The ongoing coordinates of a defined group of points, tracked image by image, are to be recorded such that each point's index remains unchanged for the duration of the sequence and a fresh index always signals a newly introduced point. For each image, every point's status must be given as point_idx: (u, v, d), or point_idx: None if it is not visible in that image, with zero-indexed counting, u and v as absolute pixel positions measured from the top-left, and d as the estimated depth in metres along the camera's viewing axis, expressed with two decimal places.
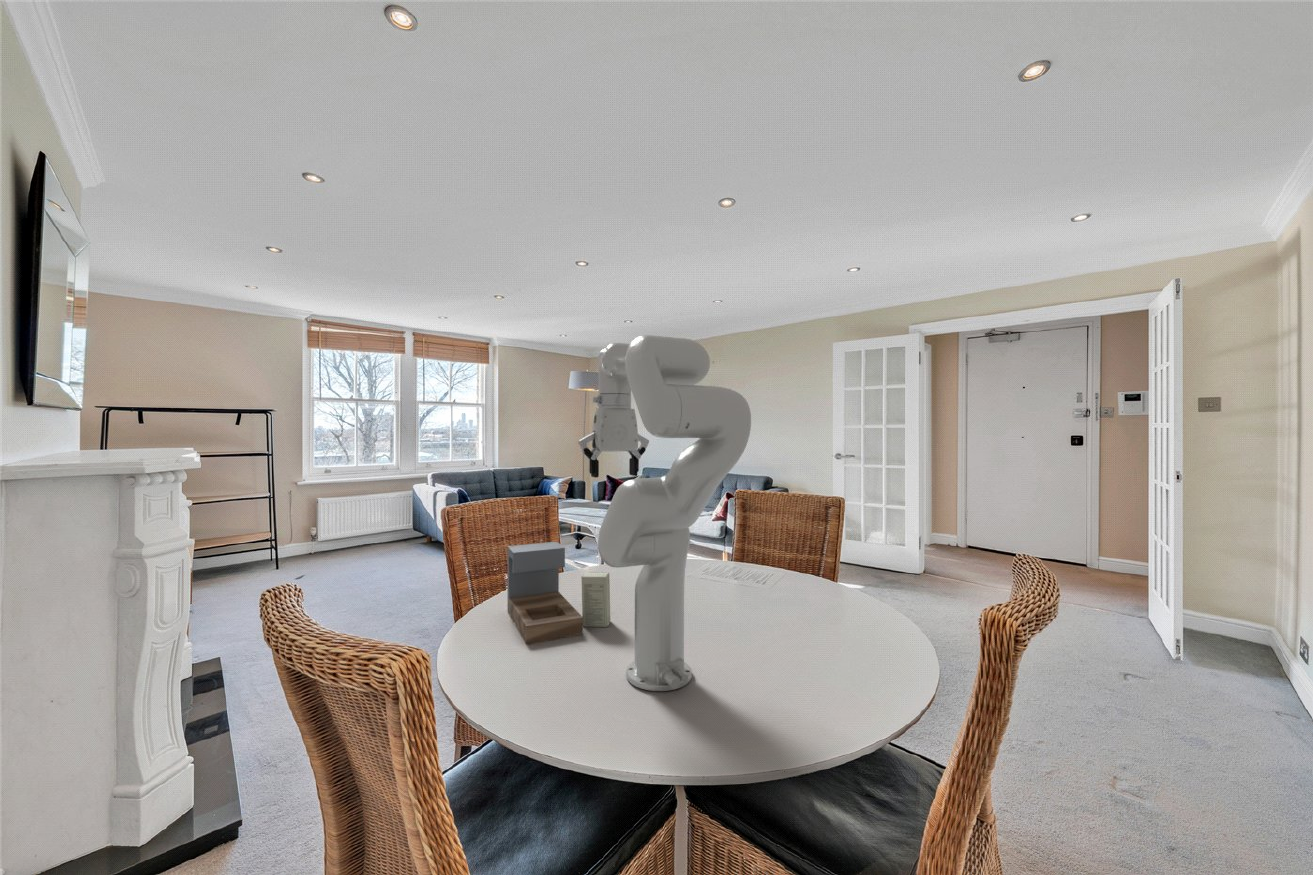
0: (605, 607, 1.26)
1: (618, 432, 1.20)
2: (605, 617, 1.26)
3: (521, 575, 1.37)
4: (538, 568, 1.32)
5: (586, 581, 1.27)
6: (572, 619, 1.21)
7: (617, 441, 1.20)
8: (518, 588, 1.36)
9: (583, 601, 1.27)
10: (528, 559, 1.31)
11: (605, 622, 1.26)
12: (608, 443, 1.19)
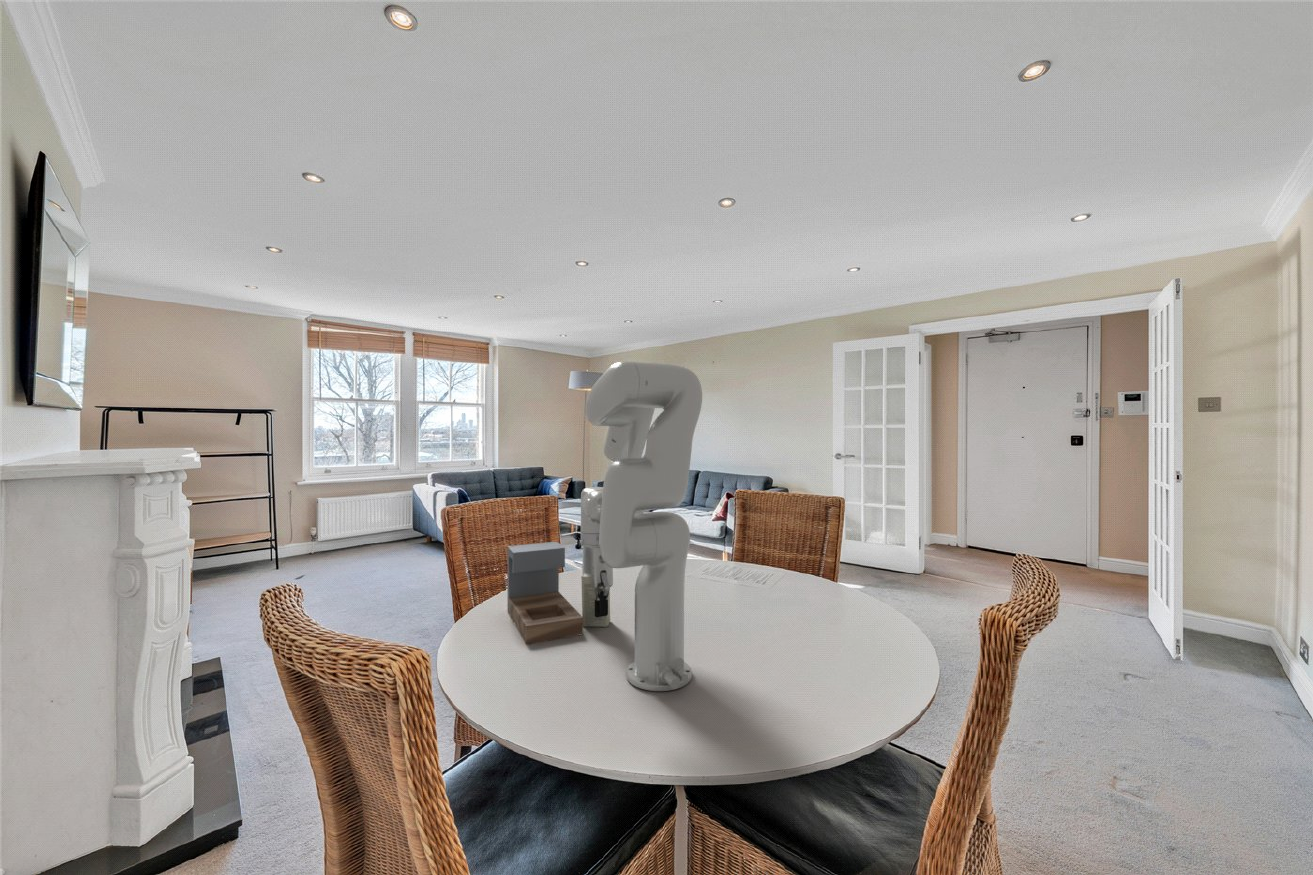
0: None
1: None
2: (605, 617, 1.26)
3: (521, 575, 1.37)
4: (538, 568, 1.32)
5: (586, 581, 1.27)
6: (572, 619, 1.21)
7: None
8: (518, 588, 1.36)
9: (583, 601, 1.27)
10: (528, 559, 1.31)
11: (605, 622, 1.26)
12: None
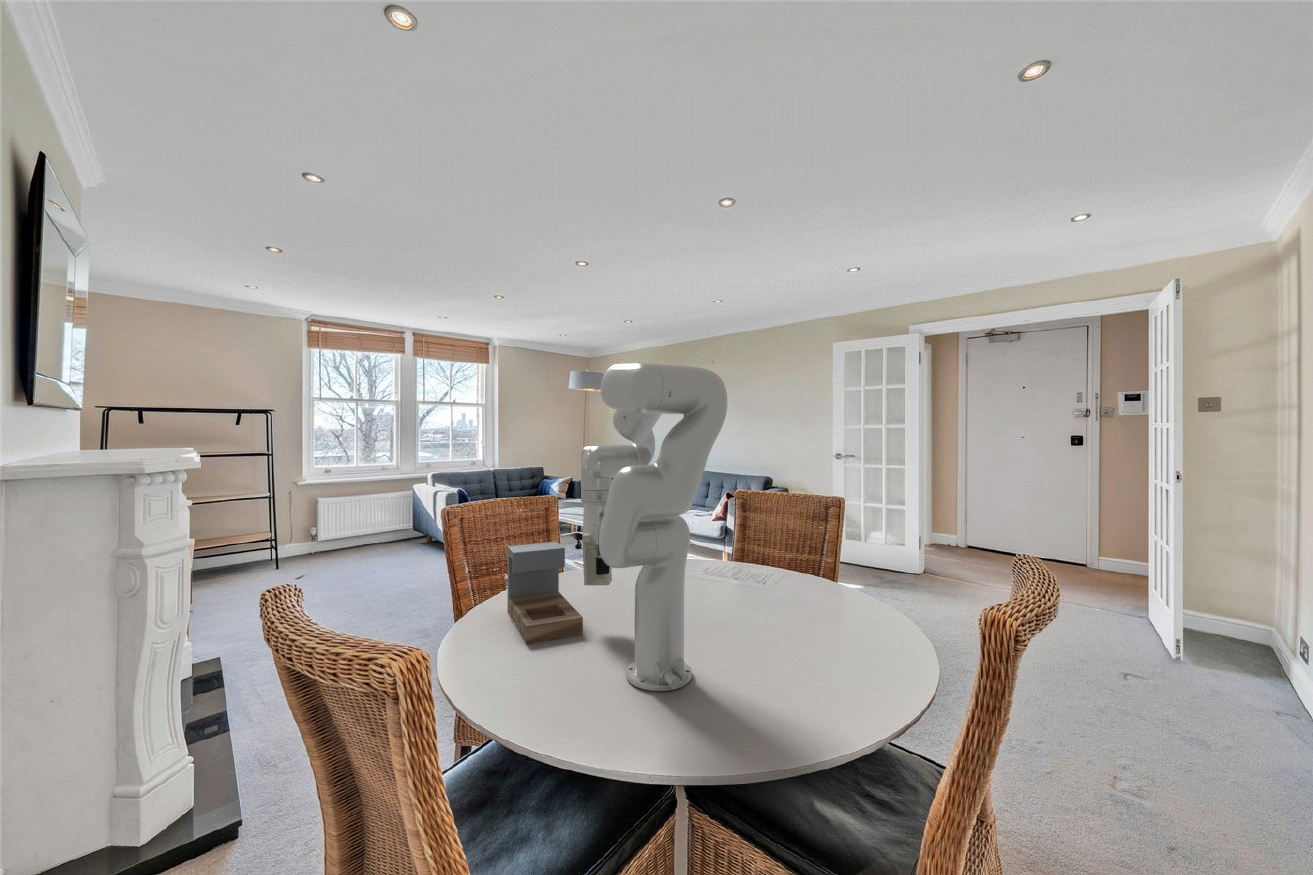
0: None
1: None
2: (606, 575, 1.26)
3: (521, 575, 1.37)
4: (538, 568, 1.32)
5: (586, 540, 1.26)
6: (572, 619, 1.21)
7: None
8: (518, 588, 1.36)
9: (584, 560, 1.26)
10: (528, 559, 1.31)
11: (607, 580, 1.25)
12: None
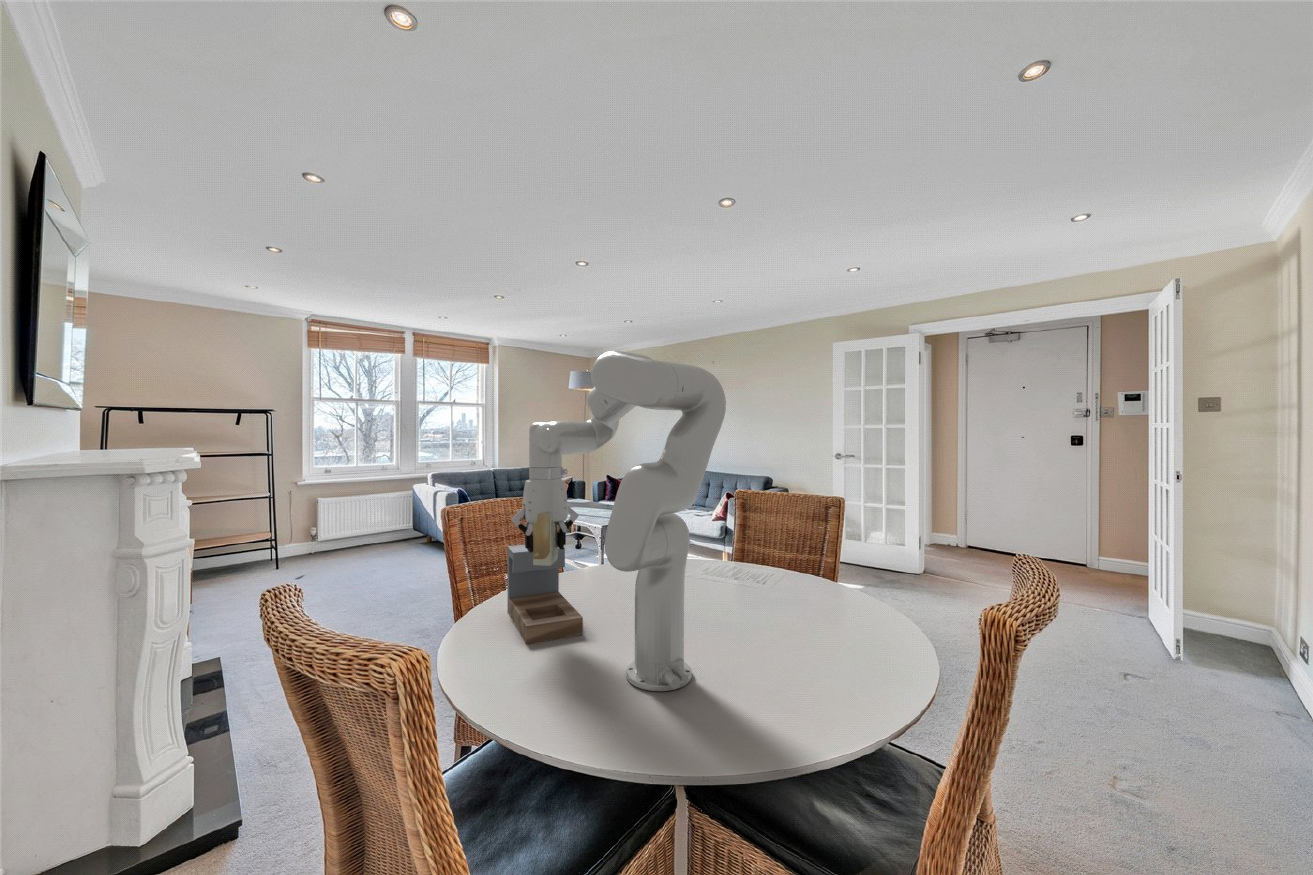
0: (557, 539, 1.27)
1: None
2: (557, 550, 1.28)
3: (521, 575, 1.37)
4: (538, 568, 1.32)
5: (551, 518, 1.23)
6: (572, 619, 1.21)
7: None
8: (518, 588, 1.36)
9: (550, 539, 1.22)
10: (528, 559, 1.31)
11: (557, 555, 1.28)
12: None
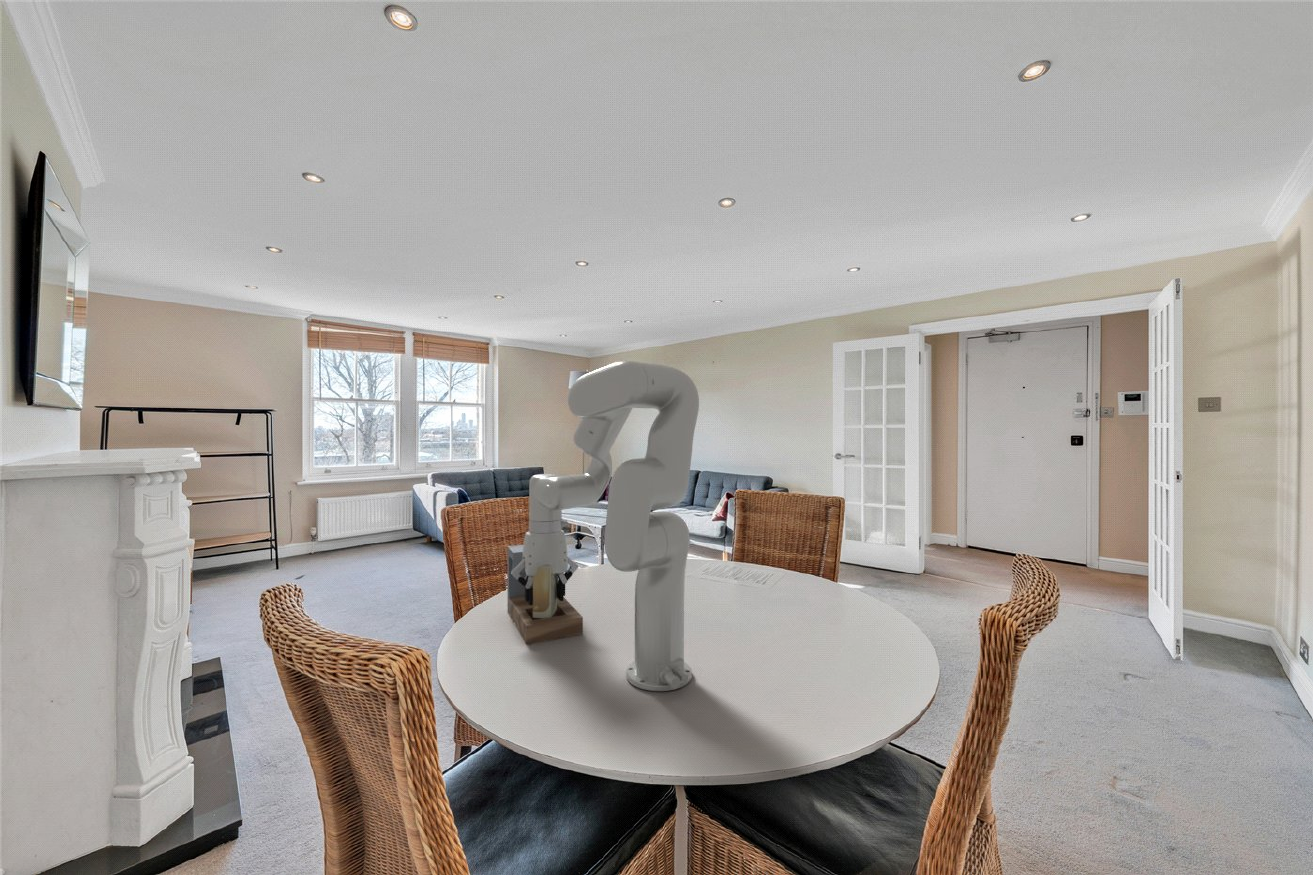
0: (556, 590, 1.28)
1: None
2: (556, 600, 1.28)
3: (521, 575, 1.37)
4: None
5: (551, 571, 1.23)
6: (572, 619, 1.21)
7: None
8: (518, 588, 1.36)
9: (550, 592, 1.22)
10: None
11: (556, 605, 1.28)
12: None
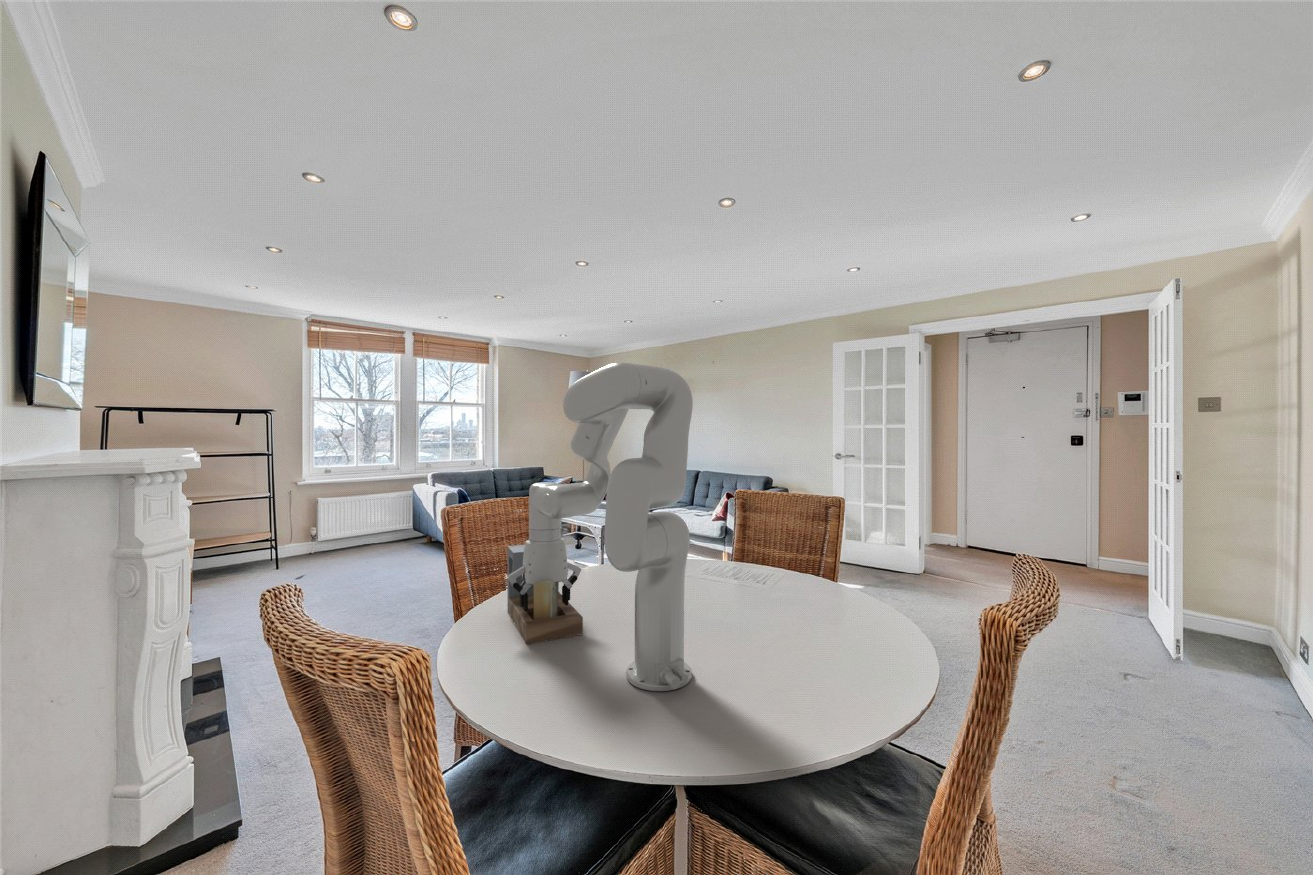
0: None
1: None
2: None
3: (521, 575, 1.37)
4: None
5: (552, 586, 1.23)
6: (572, 619, 1.21)
7: None
8: None
9: (551, 607, 1.22)
10: None
11: None
12: None
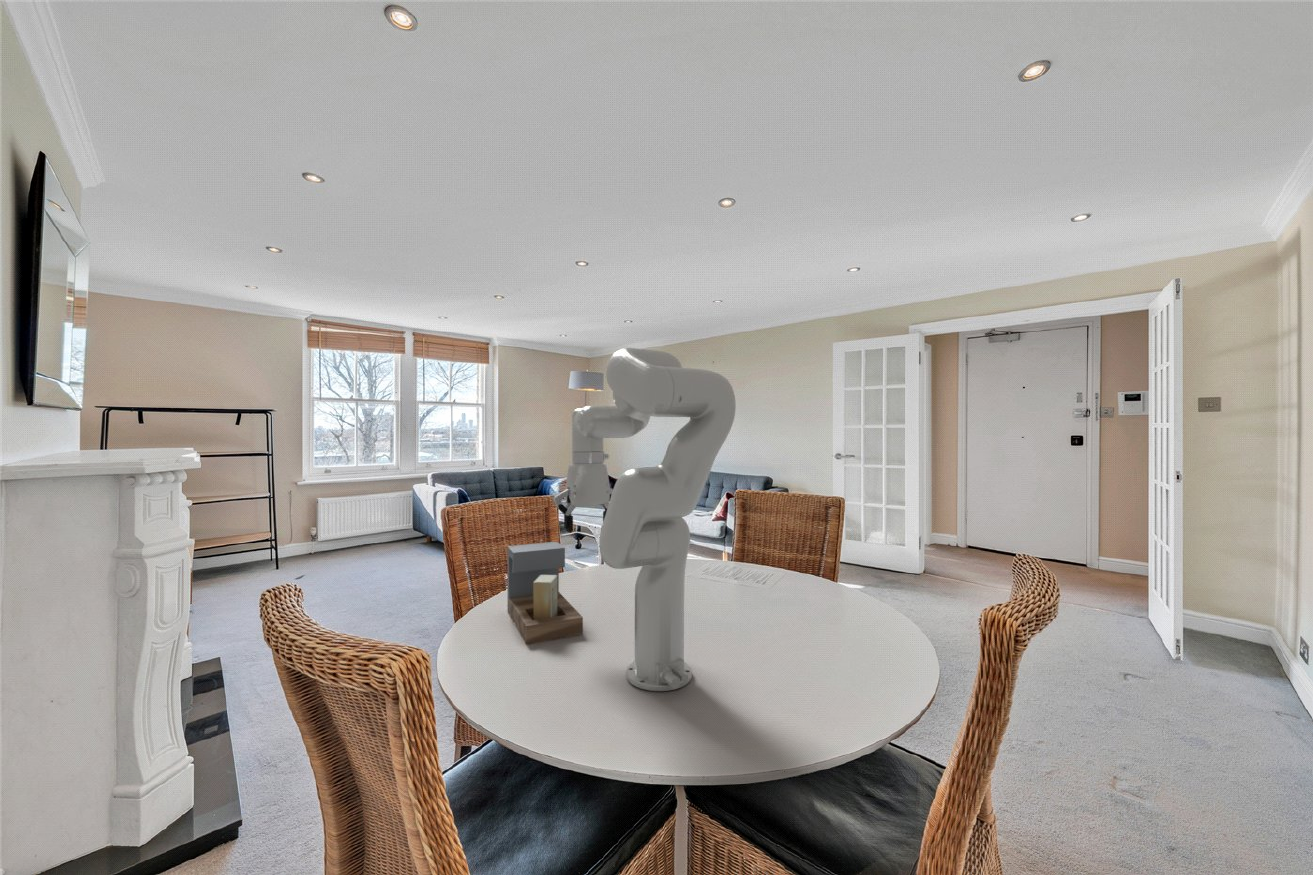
0: None
1: None
2: None
3: (521, 575, 1.37)
4: (538, 568, 1.32)
5: (552, 586, 1.23)
6: (572, 619, 1.21)
7: None
8: (518, 588, 1.36)
9: (551, 607, 1.22)
10: (528, 559, 1.31)
11: None
12: None
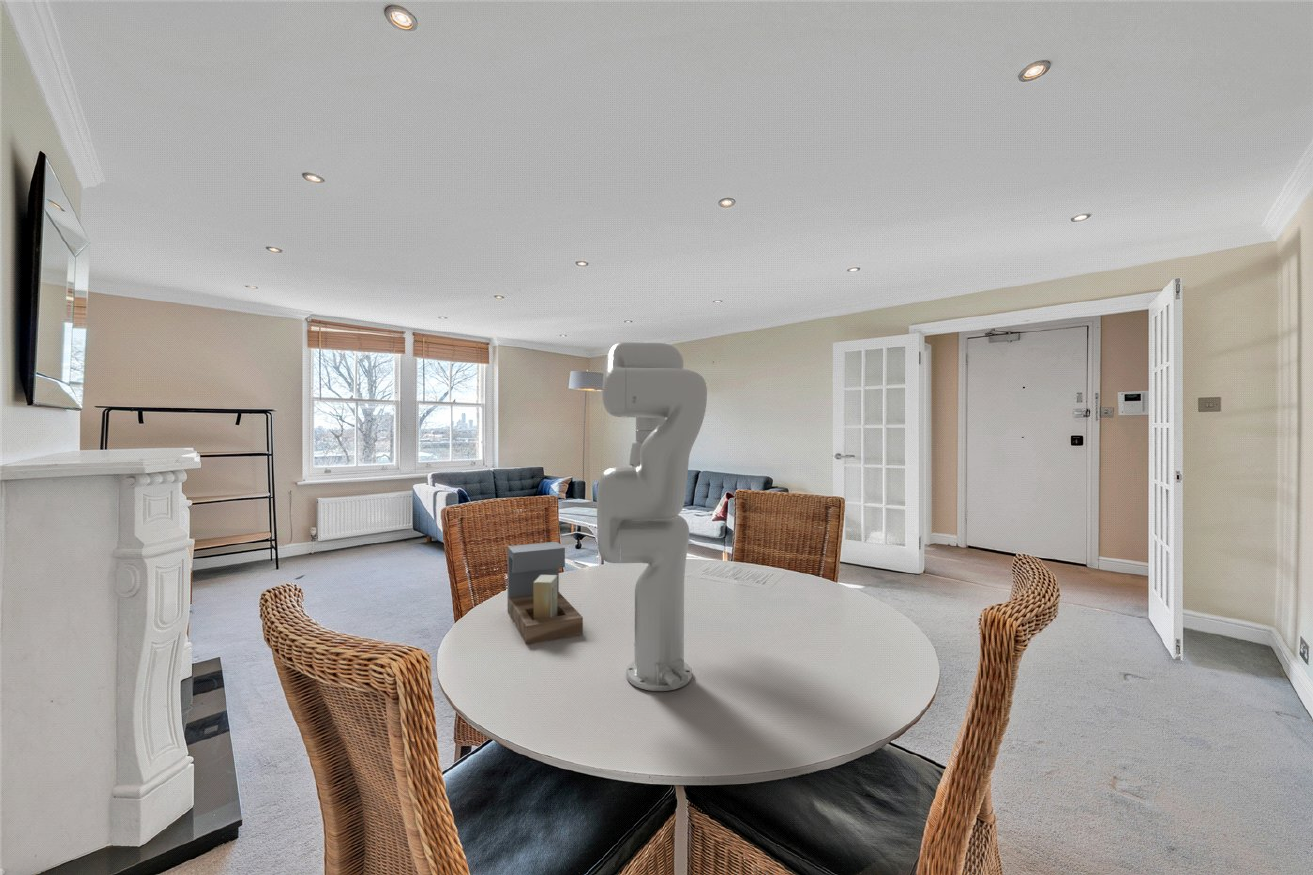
0: None
1: None
2: None
3: (521, 575, 1.37)
4: (538, 568, 1.32)
5: (552, 586, 1.23)
6: (572, 619, 1.21)
7: None
8: (518, 588, 1.36)
9: (551, 607, 1.22)
10: (528, 559, 1.31)
11: None
12: None
